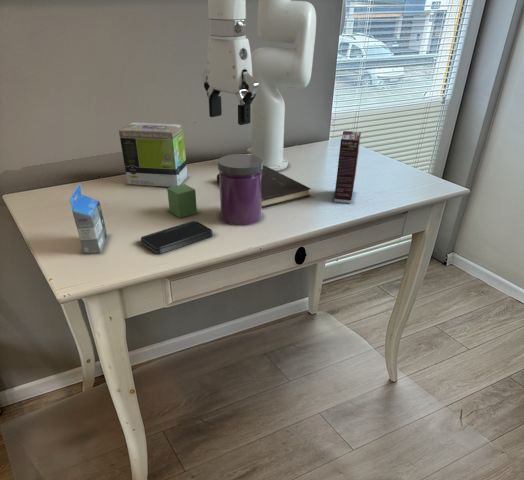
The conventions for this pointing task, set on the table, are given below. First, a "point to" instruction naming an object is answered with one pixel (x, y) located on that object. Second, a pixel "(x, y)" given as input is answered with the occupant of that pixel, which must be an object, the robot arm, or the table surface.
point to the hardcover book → (279, 188)
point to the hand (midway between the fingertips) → (229, 120)
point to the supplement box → (347, 166)
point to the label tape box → (88, 222)
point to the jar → (240, 188)
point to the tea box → (154, 154)
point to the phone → (176, 237)
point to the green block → (182, 200)
